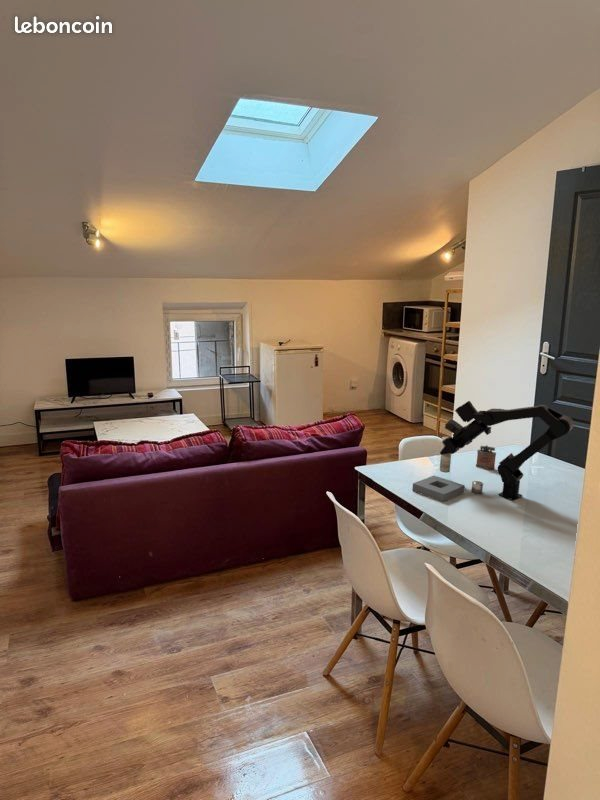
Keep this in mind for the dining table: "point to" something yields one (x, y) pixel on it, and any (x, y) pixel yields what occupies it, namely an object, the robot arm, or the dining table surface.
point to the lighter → (486, 458)
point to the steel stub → (477, 487)
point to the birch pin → (445, 459)
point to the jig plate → (438, 488)
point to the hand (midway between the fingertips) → (442, 452)
